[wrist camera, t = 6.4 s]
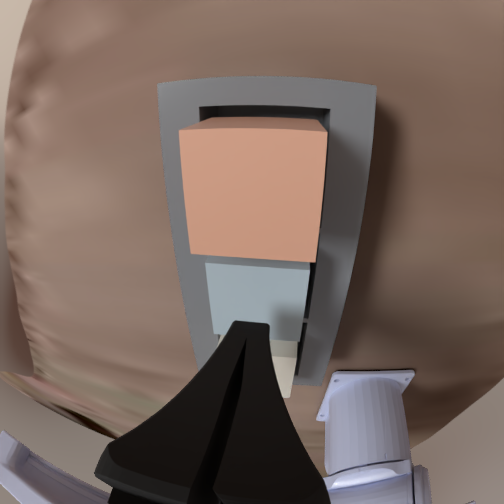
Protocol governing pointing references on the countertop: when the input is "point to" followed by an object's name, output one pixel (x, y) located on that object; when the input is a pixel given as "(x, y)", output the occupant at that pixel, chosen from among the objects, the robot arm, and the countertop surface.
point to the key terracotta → (254, 186)
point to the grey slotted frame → (333, 202)
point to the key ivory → (282, 363)
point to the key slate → (258, 294)
